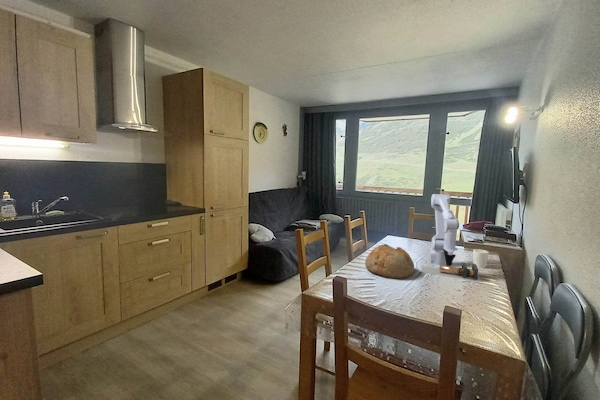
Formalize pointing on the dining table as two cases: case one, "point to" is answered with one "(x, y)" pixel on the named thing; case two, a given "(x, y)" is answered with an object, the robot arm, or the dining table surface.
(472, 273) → the copper tube
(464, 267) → the dark gray arch
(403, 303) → the dining table surface
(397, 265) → the bread
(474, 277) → the collar
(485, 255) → the white cup
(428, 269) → the pale gray board
